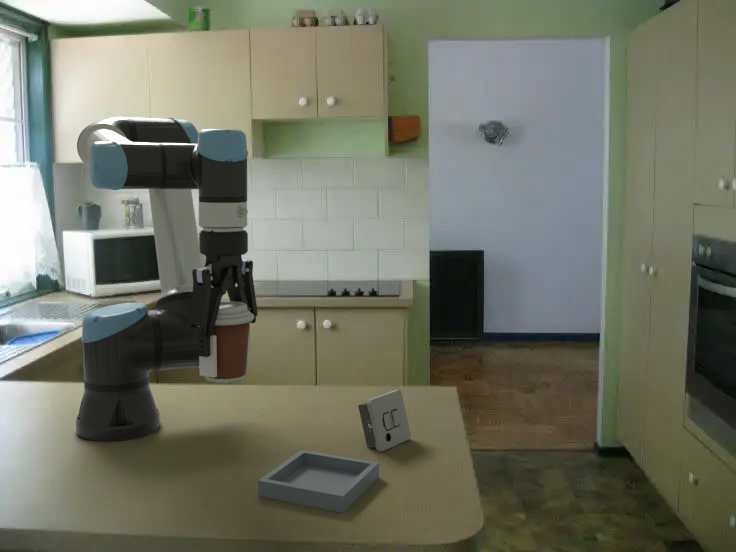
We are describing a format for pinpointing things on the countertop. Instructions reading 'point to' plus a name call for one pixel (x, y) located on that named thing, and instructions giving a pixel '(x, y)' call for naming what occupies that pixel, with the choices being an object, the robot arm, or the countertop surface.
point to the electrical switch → (385, 421)
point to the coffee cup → (231, 341)
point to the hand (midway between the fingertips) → (225, 368)
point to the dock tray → (319, 480)
